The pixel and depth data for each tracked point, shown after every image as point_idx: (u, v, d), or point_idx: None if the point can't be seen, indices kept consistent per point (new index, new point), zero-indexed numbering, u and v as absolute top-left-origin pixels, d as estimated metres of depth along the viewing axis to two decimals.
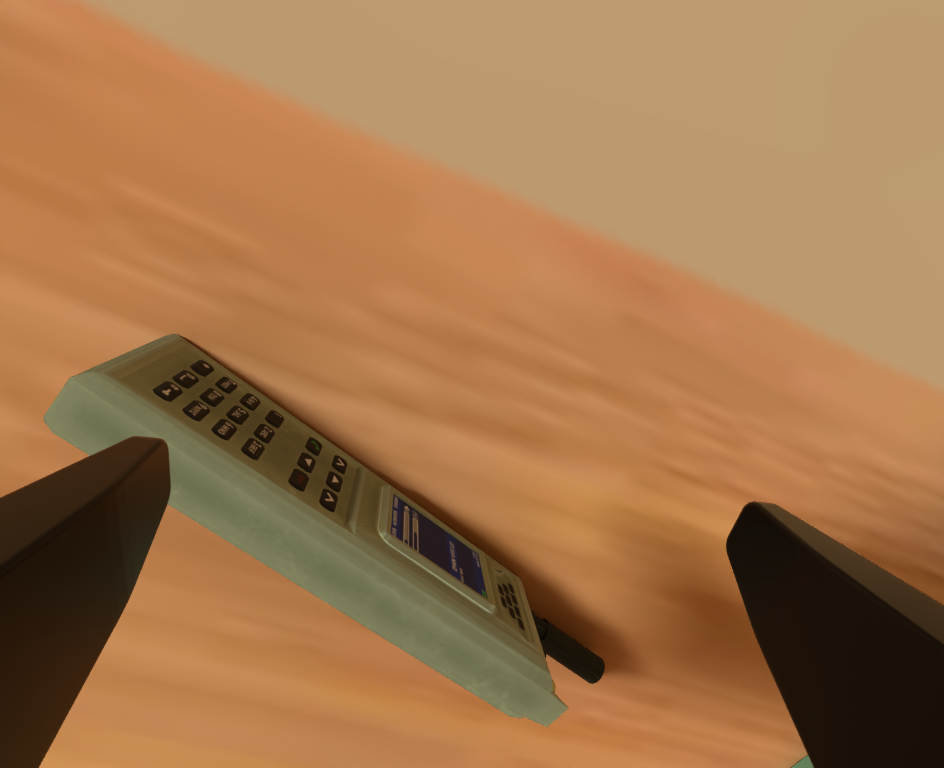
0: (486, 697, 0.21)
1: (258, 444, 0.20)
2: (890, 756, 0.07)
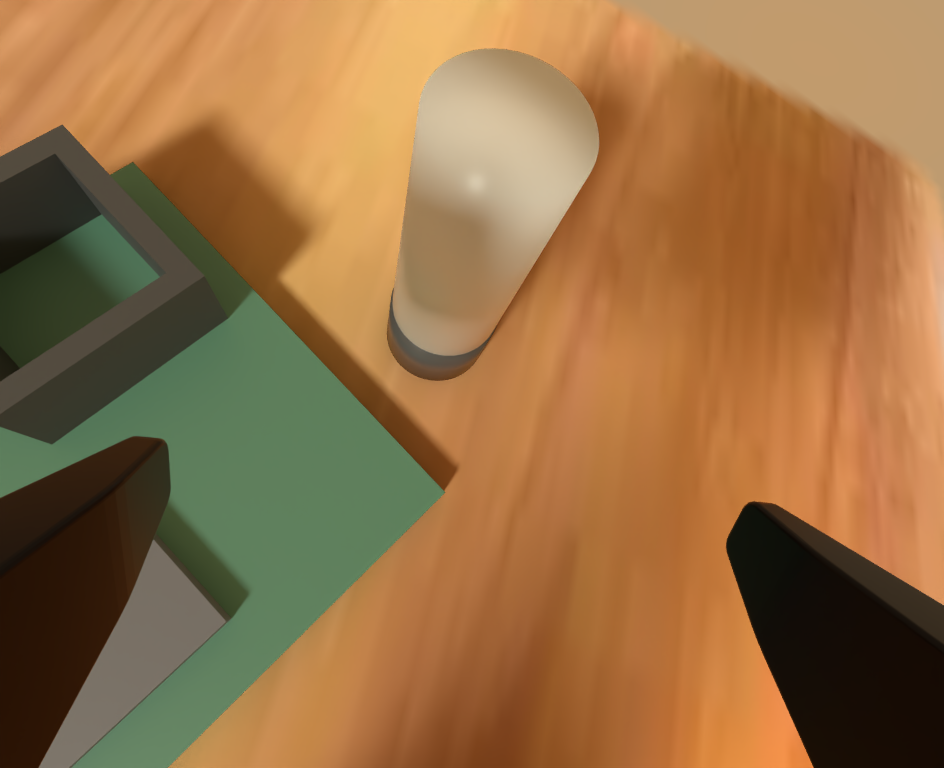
0: None
1: None
2: (890, 756, 0.07)
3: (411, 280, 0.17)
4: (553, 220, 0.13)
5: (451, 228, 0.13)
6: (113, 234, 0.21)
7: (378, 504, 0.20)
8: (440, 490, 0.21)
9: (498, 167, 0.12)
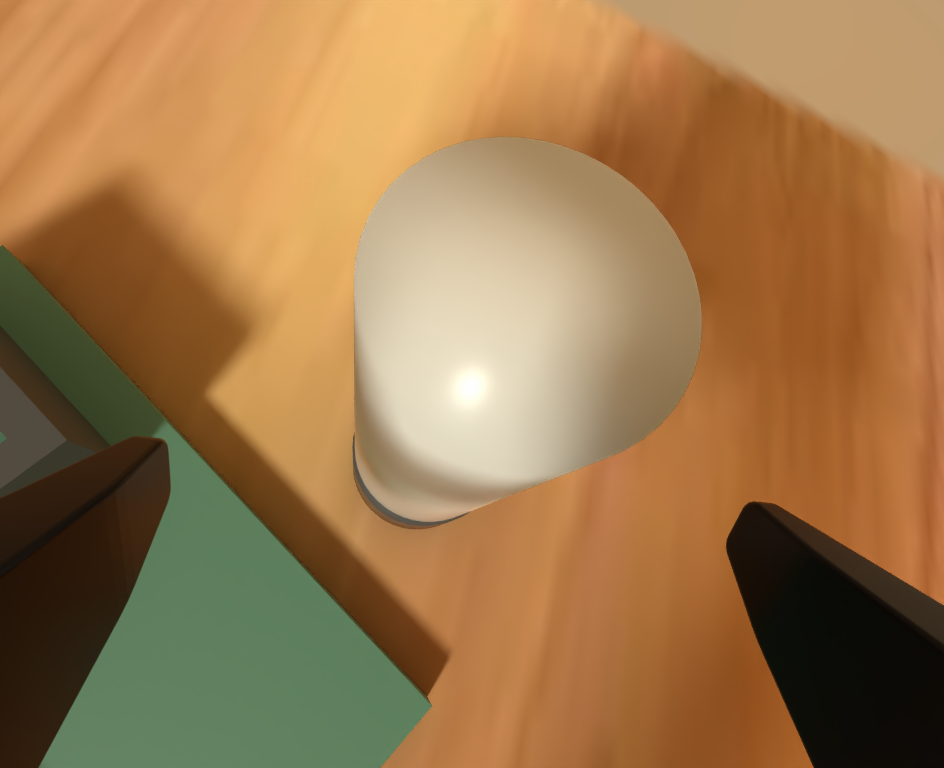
0: None
1: None
2: (890, 756, 0.07)
3: (371, 464, 0.11)
4: None
5: (425, 461, 0.07)
6: None
7: (337, 733, 0.14)
8: (425, 703, 0.15)
9: (516, 387, 0.06)
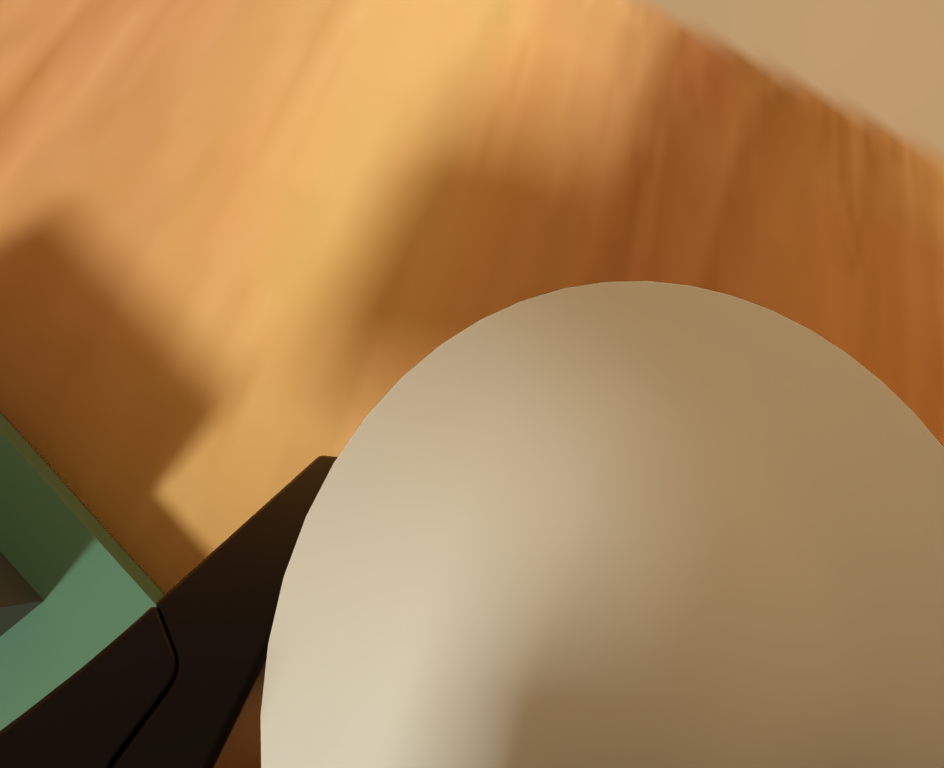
0: None
1: None
2: None
3: None
4: None
5: None
6: None
7: None
8: None
9: None
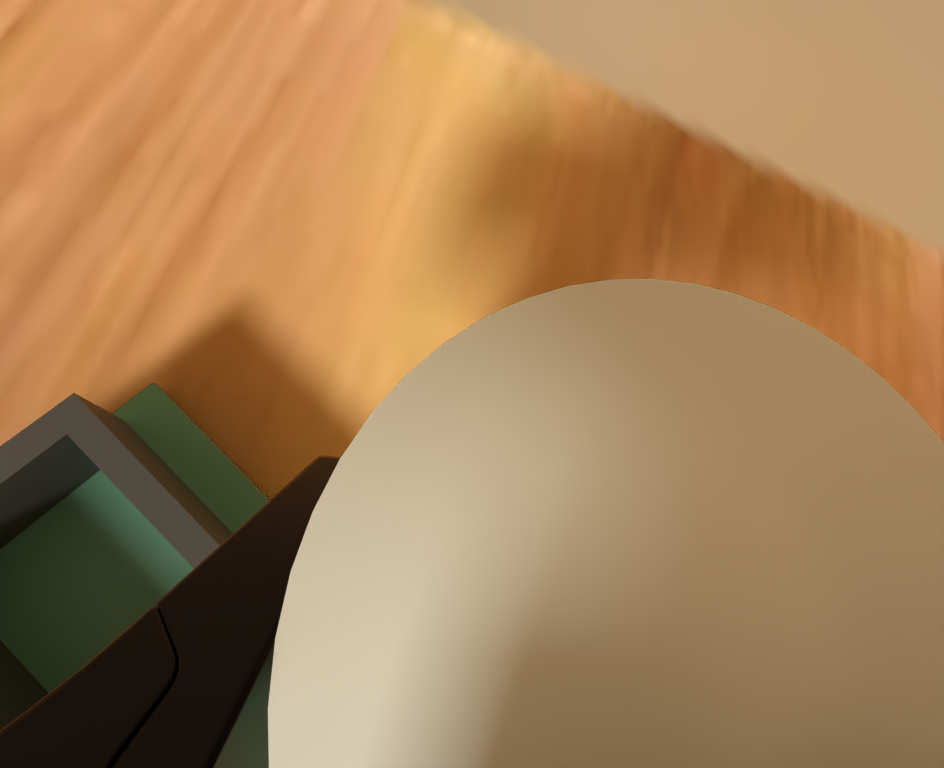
0: None
1: None
2: None
3: None
4: None
5: None
6: None
7: None
8: None
9: None
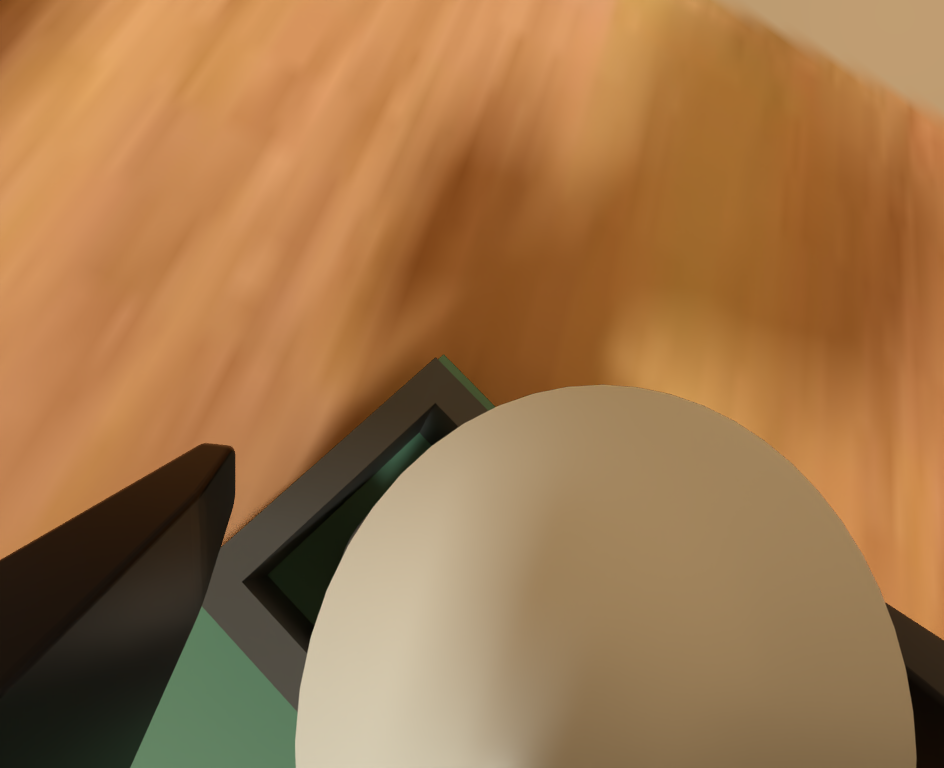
0: None
1: None
2: None
3: None
4: None
5: None
6: None
7: None
8: None
9: None
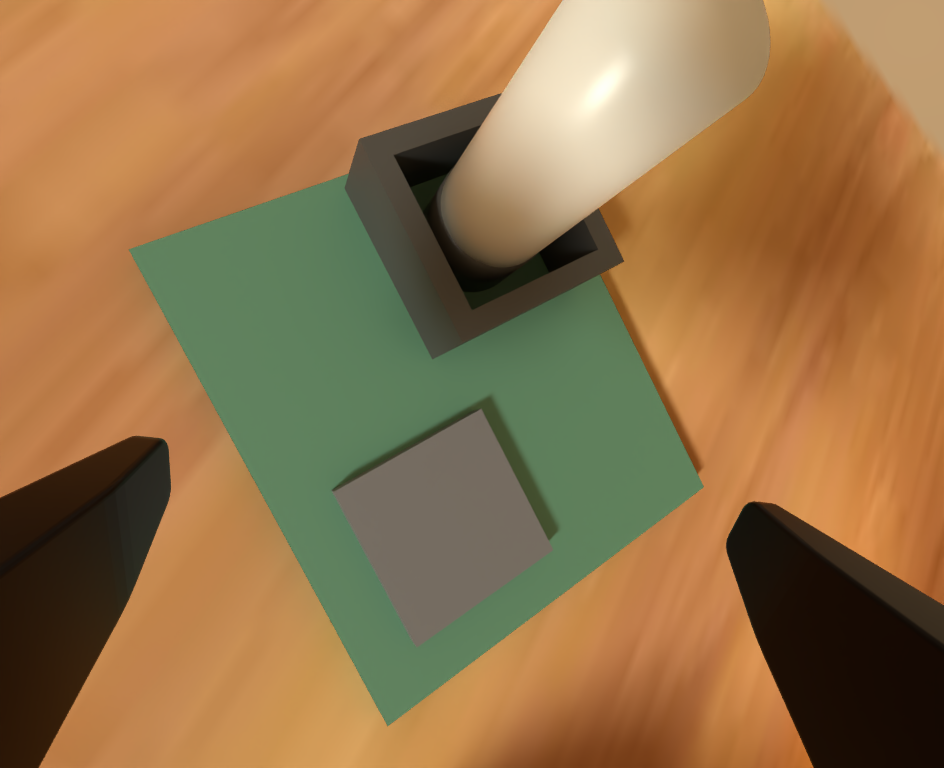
0: None
1: None
2: (890, 756, 0.07)
3: (488, 163, 0.15)
4: (686, 137, 0.11)
5: (577, 108, 0.11)
6: None
7: (657, 483, 0.24)
8: (700, 484, 0.25)
9: (664, 51, 0.10)
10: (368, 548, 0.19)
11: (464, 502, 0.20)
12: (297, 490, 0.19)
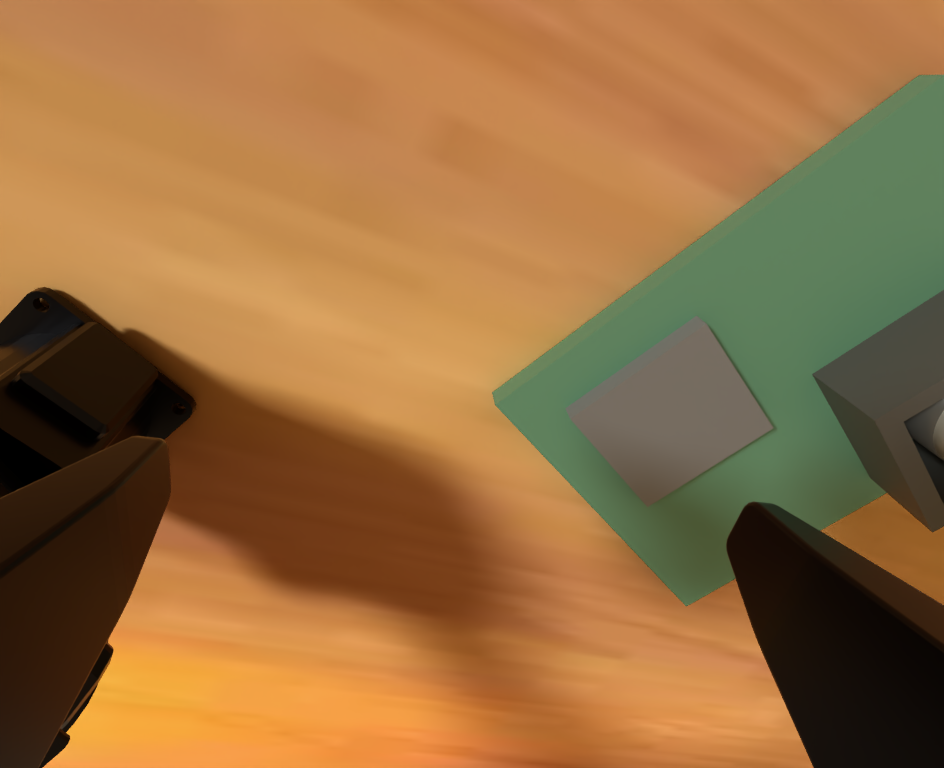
0: None
1: None
2: (890, 756, 0.07)
3: None
4: None
5: None
6: None
7: (690, 571, 0.27)
8: (688, 603, 0.28)
9: None
10: (655, 363, 0.21)
11: (691, 431, 0.22)
12: (698, 286, 0.20)
